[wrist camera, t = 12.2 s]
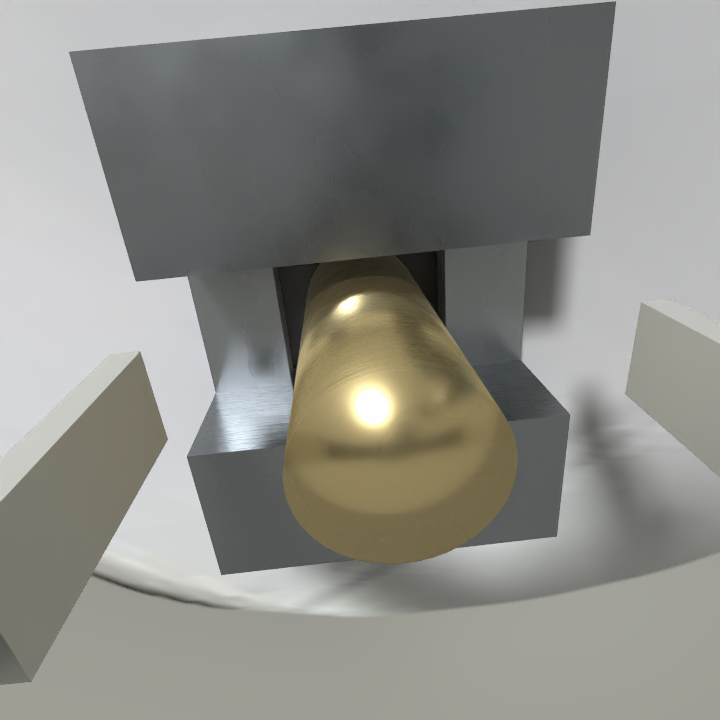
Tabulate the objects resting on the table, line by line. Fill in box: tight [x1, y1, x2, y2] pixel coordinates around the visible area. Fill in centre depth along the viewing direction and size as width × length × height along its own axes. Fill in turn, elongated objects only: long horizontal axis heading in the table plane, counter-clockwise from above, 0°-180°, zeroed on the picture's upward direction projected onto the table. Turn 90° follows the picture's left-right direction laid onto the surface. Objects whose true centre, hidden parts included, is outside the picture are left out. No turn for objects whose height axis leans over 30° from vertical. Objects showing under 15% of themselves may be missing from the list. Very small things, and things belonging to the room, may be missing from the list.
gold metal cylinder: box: [283, 255, 517, 564], centre depth 15 cm, size 5×5×12 cm
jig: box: [69, 1, 616, 575], centre depth 17 cm, size 17×13×6 cm
